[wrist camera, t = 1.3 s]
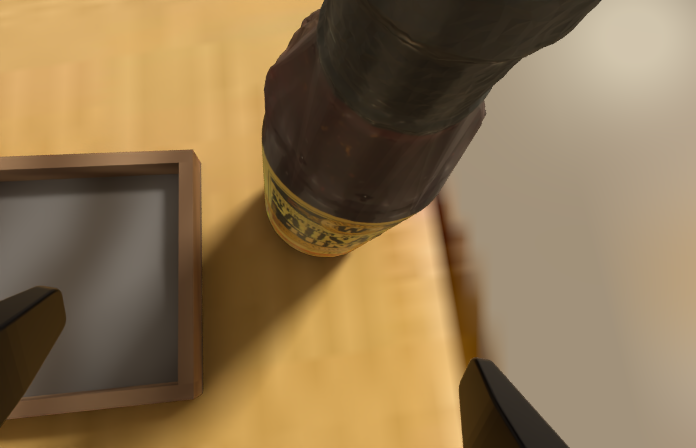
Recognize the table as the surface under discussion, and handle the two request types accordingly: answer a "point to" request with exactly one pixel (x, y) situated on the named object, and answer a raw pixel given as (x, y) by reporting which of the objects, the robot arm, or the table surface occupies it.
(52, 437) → the table surface
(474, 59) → the sauce bottle
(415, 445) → the table surface
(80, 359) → the walnut frame
